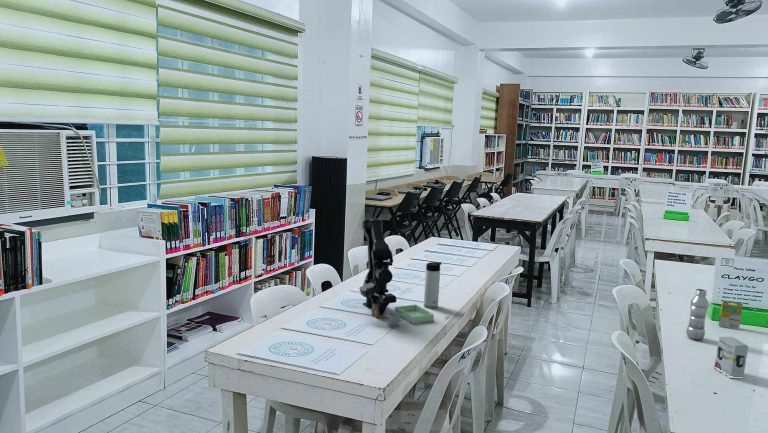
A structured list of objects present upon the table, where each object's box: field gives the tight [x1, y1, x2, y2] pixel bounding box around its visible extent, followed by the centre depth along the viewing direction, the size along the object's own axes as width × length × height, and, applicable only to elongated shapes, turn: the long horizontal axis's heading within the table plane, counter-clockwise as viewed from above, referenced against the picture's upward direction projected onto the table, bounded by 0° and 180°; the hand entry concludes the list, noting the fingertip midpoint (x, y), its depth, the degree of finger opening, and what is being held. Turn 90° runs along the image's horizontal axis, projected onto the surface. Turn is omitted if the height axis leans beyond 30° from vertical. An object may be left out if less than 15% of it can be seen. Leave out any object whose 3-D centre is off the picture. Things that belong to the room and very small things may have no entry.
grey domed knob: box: [387, 312, 401, 329], centre depth 226 cm, size 5×5×5 cm
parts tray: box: [394, 304, 435, 325], centre depth 238 cm, size 14×10×3 cm
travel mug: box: [423, 261, 442, 310], centre depth 252 cm, size 6×7×20 cm
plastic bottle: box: [686, 288, 710, 341], centre depth 227 cm, size 6×7×20 cm
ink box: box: [714, 336, 749, 378], centre depth 196 cm, size 9×5×12 cm, turn 5°
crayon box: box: [718, 300, 744, 331], centre depth 244 cm, size 7×3×12 cm, turn 65°
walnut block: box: [371, 303, 386, 319], centre depth 238 cm, size 4×4×5 cm
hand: (378, 313), depth 238 cm, fingers closed on walnut block, 4 cm apart
